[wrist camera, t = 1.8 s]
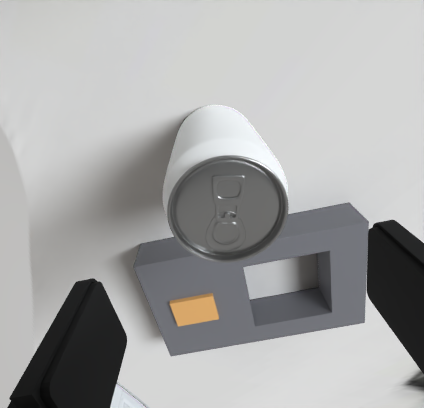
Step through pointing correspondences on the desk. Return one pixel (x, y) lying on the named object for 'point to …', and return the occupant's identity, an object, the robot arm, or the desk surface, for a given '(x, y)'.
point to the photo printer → (124, 399)
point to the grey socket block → (238, 293)
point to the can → (224, 187)
